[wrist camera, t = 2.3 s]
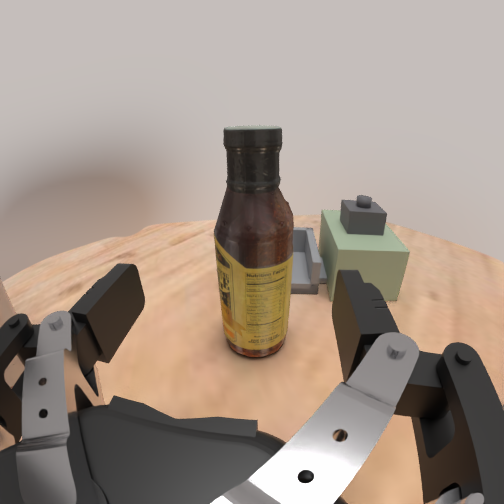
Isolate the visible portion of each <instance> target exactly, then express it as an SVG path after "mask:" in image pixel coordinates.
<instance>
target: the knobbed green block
mask: <svg viewBox="0 0 504 504" xmlns="http://www.w3.org/2000/svg"><path fill="white" fill-rule="evenodd" d="M371 201H372V198H371V197H368V196H363V195H359V196H357V201H353V200H342V202H341V211H337V210H322V214H321V227H320V239H319V250H318V248H317V244H316V240H315V236H314V232H313V229H312V228H300V227H294V228H293V241H292V244H293V266H292V281H291V293H294V294H317V293H318V286H319V283H327V288H328V292H329V296H330V301H333V298H334V291H335V284H336V277H337V272H338V270H358V271H359V273H360V275H361V277H362V279H363V281H364V283H372V284H373V285H374V286H375V287H376V288H378V289H379V290H380V292H381V294H382V296H383V298H384V301H397V297H398V294H399V291H400V287H401V284H402V280H403V277H404V273H405V269H406V265H407V261H408V257H409V253H410V251H409V250H408V249H407V248H406V247H405V245H404V244H403V243H402V242H401V241H400V240H399V238H398V237H397V236H396V235H395V234H394V233H393V231H392V230H391V229H390V228H389V227H388V226H387V225H386V224H385V223H386V216H387V213H386V212H385V211H384V210H383V209H382V208H381V207H380V206H379V205H378V204H377V203H375V202H371ZM319 254H320V255H319Z"/></svg>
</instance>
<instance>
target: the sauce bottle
mask: <svg viewBox="0 0 504 504" xmlns="http://www.w3.org/2000/svg"><path fill="white" fill-rule="evenodd" d="M224 146H225V149H226V151H227V174H228V177H227V181H226V183H227V189H226V192H225V196H224V199H223V202H222V206H221V209H220V213H219V216H218V220H217V223H216V226H215V229H214V239H215V250H216V261H217V272H218V282H219V292H220V301H221V310H222V319H223V327H224V332H225V335H226V337H227V340H228V343H229V345H230V346H231V348H232V349H233V350H234V351H236V352H237V353H240V354H243V355H245V356H248V357H263V356H266V355H270V354H272V353H274V352H276V351H278V350H279V348H280V347H281V346H282V344H283V342H284V339H285V336H286V332H287V328H288V317H289V306H290V294H291V281H292V266H293V244H292V241H293V228H294V224H293V223H294V222H293V213H292V211H291V209H290V206H289V203H288V202H287V201H286V200H285V199H284V197H283V195H282V193H281V191H280V189H279V188H278V186H279V184H280V176H279V152H280V150H281V147H282V129H281V128H280V127H278V126H235V127H226V128H224Z"/></svg>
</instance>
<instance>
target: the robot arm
mask: <svg viewBox="0 0 504 504" xmlns="http://www.w3.org/2000/svg"><path fill="white" fill-rule="evenodd" d="M144 304H145V296H144V292H143V289H142V285H141V281H140V277H139V273H138V269H137V267H136V265H134V264H120V263H119V264H117V265H116V266H115V267H114V268H113V269H112V270H111V271H110V272H109V273H108V274H107V275H106V276H104V277H102V278H101V279H99V280H98V281H97V282H96V283H95V284H94V285H93V286H92V288H90V289H89V290H88V291H87V292H86V294H84V295H83V296H82V297H81V298H80V299H79V301H78V302H77V303H76V304H75V305H74V306H73V307H72V308H71V309H70V310H69V311H68V312H67V311H57V312H54V313H52V314H50V315H48V316H47V317H46V318H44V320H43V321H42V322H41V324H38V325H32V324H31V322H30V320H29V318H28V316H27V315H26V314H16V312H15V310H14V308H13V306H12V304H11V302H10V299H9V297H8V295H7V293H6V290H5V288H4V286H3V283H2V281H1V279H0V504H348V503H347V502H346V501H345V500H343V499H342V498H341V497H340V496H339V495H340V494H341V493H342V492H343V490H344V489H345V488H346V486H347V485H348V484H349V483H350V481H351V480H352V479H353V477H354V476H355V474H356V473H357V472H358V470H359V469H360V467H361V466H362V465H363V463H364V462H365V460H366V459H367V457H368V456H369V454H370V453H371V451H372V449H373V448H374V446H375V445H376V443H377V441H378V440H379V438H380V437H381V435H382V433H383V431H384V430H385V428H386V426H387V424H388V423H389V421H390V419H391V417H392V415H393V414H395V415H402V416H410V417H411V418H412V423H413V428H414V434H415V439H416V445H417V451H418V457H419V464H420V472H421V480H422V490H423V502H424V504H504V410H503V407H502V405H501V402H500V400H499V397H498V395H497V393H496V390H495V388H494V386H493V384H492V381H491V379H490V377H489V375H488V373H487V371H486V369H485V367H484V364H483V362H482V360H481V358H480V357H479V355H478V353H477V352H476V351H475V350H474V349H473V348H472V347H470V346H469V345H467V344H464V343H459V342H456V343H451V344H449V345H448V346H447V347H446V348H445V350H444V352H443V353H442V354H435V353H428V352H423V351H419V348H418V346H417V344H416V343H415V342H414V340H412V339H411V338H410V337H408V336H406V335H404V334H401V333H400V332H399V330H398V328H397V325H396V323H395V321H394V319H393V317H392V315H391V312H390V310H389V308H388V306H387V304H386V302H385V301H384V298H383V296H382V294H381V292H380V290H379V289H378V288H376V287H375V286H374V285H373V284H372V283H364V281H363V279H362V277H361V275H360V273H359V271H358V270H338V272H337V277H336V284H335V291H334V298H333V304H332V319H333V325H334V330H335V335H336V340H337V345H338V350H339V356H340V361H341V367H342V373H343V379H344V382H341V383H340V384H339V385H338V386H337V387H336V388H335V389H334V391H333V392H332V393H331V394H330V396H329V397H328V398H327V399H326V400H325V402H324V403H323V404H322V405H321V406H320V407H319V409H318V410H317V411H316V412H315V413H314V414H313V416H312V417H311V418H310V419H309V420H308V421H307V422H306V423H305V424H304V425H303V427H302V428H301V429H300V430H299V431H298V432H297V433H296V434H295V435H294V436H293V437H292V438H291V439H290V440H289V441H288V442H287V443H286V442H284V441H283V440H281V439H279V438H277V437H275V436H273V435H270V434H268V433H265V432H262V431H258V422H257V420H246V419H234V418H224V417H208V418H193V419H175V418H172V417H170V416H168V415H166V414H164V413H162V412H160V411H157V410H155V409H153V408H151V407H149V406H148V405H146V404H144V403H140V402H136V401H132V400H128V399H124V398H121V397H117V396H113V398H112V400H111V402H110V404H109V405H105V403H104V399H103V394H102V389H101V384H100V379H99V374H98V369H97V367H96V365H95V363H96V361H97V360H98V361H102V362H106V363H109V362H110V361H111V359H112V357H113V356H114V354H115V352H116V351H117V349H118V348H119V346H120V344H121V343H122V341H123V340H124V338H125V337H126V335H127V333H128V332H129V330H130V329H131V327H132V326H133V324H134V323H135V321H136V319H137V318H138V316H139V315H140V313H141V312H142V310H143V308H144ZM12 386H13V387H12ZM10 387H12V389H11V388H10ZM21 436H22V441H20V442H19V440H20V438H21Z"/></svg>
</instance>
